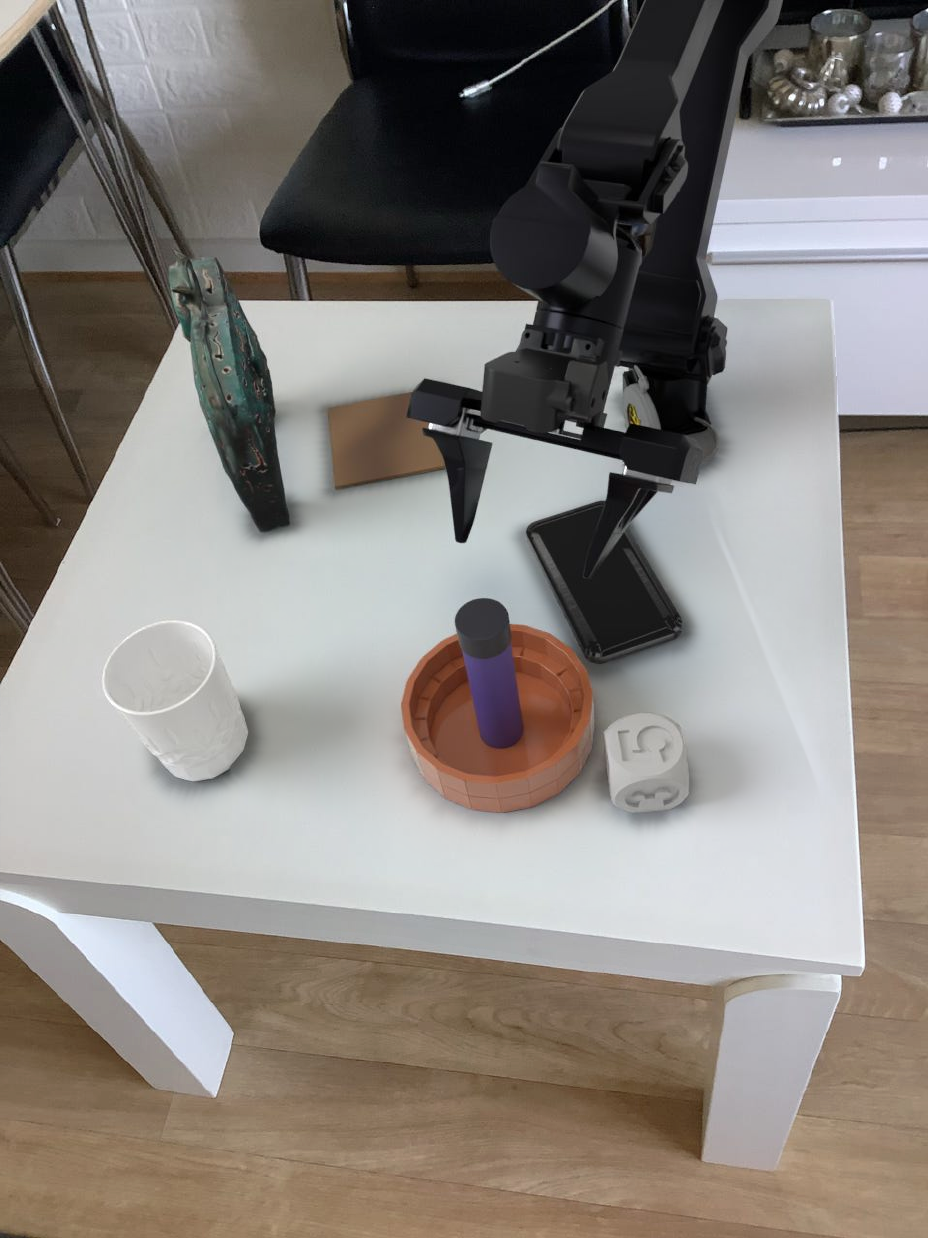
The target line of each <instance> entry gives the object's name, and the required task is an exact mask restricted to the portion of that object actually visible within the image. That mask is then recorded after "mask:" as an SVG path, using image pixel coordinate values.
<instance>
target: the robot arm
mask: <svg viewBox="0 0 928 1238" xmlns="http://www.w3.org/2000/svg"><path fill="white" fill-rule="evenodd" d="M783 1H784V0H643V3H642V5H641V7H640V10H639V12H638V14H637V16H636V19H635V21H634V23H633V26H632V28H631V30H630V32H629V35H628V38H627V40H626V42H625V44H624V46H623V48H622V51H621V54H620V56H619V58H618V59H617V63H616V64H615V66H614V68H613V70H612V71H611V72H610V73H608V74H606V75H605V76H603V77H602V78H600V79H599V80H597V81H595V82H594V83H592V84H591V85H589V86H587V87H586V88H584V89H583V91H582V92H581V93H580V95H579V97H578V99H577V101H576V102H575V104H574V105H573V107H572V109H571V111H570V113H569V115H567V118H566V119H565V121H564V123H563V125H562V126H561V127H560V128H559V129H558V130H557V131H556V133H555V135H554V136H553V137H552V140H551V141H550V143H549V145H548V146H547V148H546V150H545V152H544V154H543V155H542V157H541V158H540V161H539V162H538V164H537V165H536V167H535V169H534V170H533V172H532V174H531V176H530V177H529V180H528V181H527V183H526V184H525V186H524V187H522V188H520V189H518V190H517V191H516V192H515V193H513V194H512V195H511V196H510V197H509V198H508V199H507V200H506V201H505V202H504V203H503V204H502V206H501V208H500V209H499V211H498V213H497V215H496V216H495V217H494V218H493V220H492V223H491V227H490V233H489V249H490V255H491V259H492V260H493V263H494V265H495V267H496V269H497V271H498V272H499V273H500V274H501V276H502V277H503V278H504V279H506V280H507V281H508V282H509V283H510V284H512V285H514V286H515V287H517V288H519V289H520V290H522V291H524V292H525V293H527V294H528V295H530V296H532V297H534V298H535V299H537V304H536V309H535V314H534V317H533V318H534V319H533V322H532V324H530V323H525V326H524V330H523V331H522V333H521V336H520V339H519V344H518V346H517V348H516V349H515V351H508V352H506V353H503V354H501V355H499V356H498V357H496V358H494V359H492V360H490V361H487V362H486V363H484V367H483V379H482V391H481V390H479V389H476V388H475V389H474V388H472V387H467V386H462V385H457V384H453V383H449V382H445V381H439V380H435V379H430V378H426V377H424V378H423V379H422V380H421V381H420V382H418V384H417V385H416V386H415V387H414V389H413V390H412V391H411V392H412V393H411V397H410V402H409V406H408V411H407V416H406V417H407V418H411V419H415V420H419V421H424V422H428V423H429V425H428V428H422V431H423V435H424V436H427V437H431V438H432V439H433V440H434V441H435V443H436V445H437V447H438V449H439V451H440V453H441V454H442V457H443V460H444V463H445V472H446V476H447V481H448V488H449V489H448V490H449V497H450V506H451V515H452V523H453V533H454V540H455V542H456V543H458V544H466V543H467V542H468V539H469V537H470V533H471V531H472V528H473V526H474V523H475V519H476V515H477V510H478V506H479V503H480V498H481V494H482V490H483V485H484V481H485V477H486V472H487V469H488V466H489V465H488V464H489V460H490V456H491V453H492V452H491V451H492V448H493V442H491V441H487V440H483V439H481V434H483V433H484V432H486V431H487V430H489V431H495V432H499V433H503V434H508V435H511V436H517V437H520V438H524V439H529V440H534V441H538V442H542V443H547V444H550V445H554V446H559V447H564V448H569V449H572V450H576V451H581V452H584V453H585V452H586V453H589V454H593V455H597V456H598V455H599V456H602V457H605V458H606V457H607V458H611V459H615V460H619V461H622V466H623V470H622V473H617V472H612V471H610V472H609V473H608V480H607V481H608V482H607V489H606V498H605V500H604V501H605V504H604V507H603V510H602V513H601V516H600V518H599V521H598V524H597V527H596V530H595V533H594V536H593V539H592V542H591V545H590V548H589V551H588V554H587V558H586V563H585V568H584V573H583V577H584V578H587V579H590V578H592V577H593V576H594V575H595V573H596V572H597V571H598V569H599V568H600V566H601V565H602V563H603V562H604V560H605V559H606V557H607V556H608V555H609V553H610V552H611V550H612V549H613V547H614V546H615V544H616V543H617V541H618V540H619V539H620V537H621V536H622V534H623V533H624V531H625V530H626V529H627V527H629V525H630V524H632V523H633V522H634V520H635V518H636V517H638V515H639V514H640V513H641V512H642V511H643V510H644V508H645V507H646V506H647V505H648V504H649V503H650V501H652V499H654V497H655V496H656V495H657V494H658V493H665V494H673V492H674V489H675V485H673V484H672V481H676V482H680V483H686V484H691V485H697V481H698V477H699V474H700V470H701V467H702V466H701V463H702V457H703V449H702V448H701V446H700V444H699V442H698V440H696V439H694V438H691V437H688V436H686V435H689V434H695V433H700V432H703V431H705V430H707V428H708V427H707V426H704V425H703V424H702V423H700V422H698V421H695V417H698V418H700V419H702V420H705V421H706V422H708V423H709V424H710V425H711V426H712V422H711V419H710V417H709V414H708V413H707V411H706V410H707V399H708V398H707V397H708V385H709V383H710V382H711V379H712V377H713V376H716V375H718V374H721V373H724V371H725V368H726V362H727V361H726V360H727V346H728V345H727V344H728V340H727V335H728V326H727V325H726V324H725V323H724V322H722V321H721V320H720V319H719V318H718V317H715V316H716V315H715V314H716V310H717V304H718V293H717V289H716V287H715V286H716V285H715V283H714V281H713V277H712V274H711V272H710V271H711V270H710V268H709V266H708V263H707V255H708V250H709V249H708V248H709V245H710V240H711V234H712V231H713V226H714V220H715V216H716V211H717V206H718V202H719V197H720V191H721V187H722V183H723V178H724V173H725V168H726V164H727V158H728V154H729V149H730V145H731V140H732V135H733V131H734V130H733V129H734V126H735V123H736V122H735V121H736V116H737V112H738V107H739V102H740V97H741V92H742V88H743V84H744V79H745V74H746V69H747V64H748V61H749V58H750V57H751V55H752V54H753V53H754V52H755V50H756V49H757V48H758V47H759V45H761V43H762V42H763V41H764V40H765V38H766V37H767V36H768V35H769V33H770V32H771V31H772V30H773V28H774V27H775V26H776V24H777V23H778V22H779V21H778V20H779V18H780V14H781V10H782V6H783ZM618 221H624V223H623V222H618ZM625 222H631V223H638V224H645V225H652V224H653V227H652V232H651V237H650V242H649V247H648V250H647V252H646V253H645V254H644V255H643V250H642V248H641V246H640V244H639V242H638V241H637V238H636V235H635V227H634V225H633V224H630V223H625ZM634 365H636V366H637V367H638V368H639V369H640V371H641V372H642V374H643V375H644V376H646V377H647V381H648V383H649V389H647V393H648V394H649V396H650V398H651V400H652V402H653V404H654V406H655V409H656V411H657V414H658V418H659V422H660V426H661V430H660V429H655V428H651V427H646V426H642V425H637V424H633V423H630V425H629V427H628V429H627V428H626V431H619V430H615V429H611V428H607V427H605V425H606V421H607V417H608V413H606V412H605V408H606V404H607V400H608V396H609V391H610V387H611V385H612V379H613V376H614V372H615V367H616V368H620V367H622V368H627V369H628V370H625V371H623V373H622V375H621V376H622V393H623V392H624V390H625V388H626V387H628V386H629V385H631V384H635V383H638V380H639V377H638V375H637V373H636V371H635V369H634ZM640 376H641V375H640ZM638 384H639V383H638ZM566 422H570V423H571V422H572V423H575V427H578V428H581V429H582V432H581V433H578V432H577V433H576V432H572V431H567V430H564V428H565V424H566ZM640 422H641V421H640Z"/></svg>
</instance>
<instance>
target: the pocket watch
mask: <svg viewBox="0 0 928 1238" xmlns="http://www.w3.org/2000/svg"><path fill="white" fill-rule="evenodd" d="M634 369H635V371H636V373H637V375H638V377H639V380H638V383H639V384H638V383H635V384H631V385H629V386H628V387H626V388H625V390H624V392H623V391H622V397H621V398H622V399H621V400H622V401H621V403H622V404H621V405H622V415H623V420H624V424H625V428H626V430H627V429H628V427H629V425H630V423H633V424H637V425H642V426H646V427H651V428H655V429H660V430H661V426H660V422H659V418H658V414H657V411H656V409H655V406H654V404H653V402H652V400H651V398H650V396H649V394H648V393H647V389H649V383H648V381H647V377H646V376H644V375H643V374H642V372H641V371H640V369H639V368H638V367H637V366H636V365H634ZM640 375H641V376H640ZM640 421H641V422H640ZM695 421H698V422H700V423H702V424H703V425H704V426H707V427H708V428H707V430H705V431H703V432H700V433H695V434H689V435H686V436H688V437H691V438H694V439H696V440H698V442H699V444H700V446H701V448H702V449H703V457H702V463H701V467H703V466H705V465H706V464H707V463H709V462H710V461H711V460H712V459H713V458H714V456H716V454H717V452H718V448H719V441H720V440H719V435H718V432H717V430H716V429H715V427H714V426H712V424H711V425H710V424H709V423H708V422H706V421H705V420H702V419H700V418H698V417H695Z"/></svg>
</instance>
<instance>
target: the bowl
mask: <svg viewBox="0 0 928 1238" xmlns="http://www.w3.org/2000/svg"><path fill="white" fill-rule="evenodd" d="M510 628H511V646H512V653H513V659H514V666H515V673H516V679H517V686H518V693H519V700H520V706H521V713H522V720H523V727H524V731H523V735H522V737H521V738H520V740H519V741H518V742H517V743H516V744H514V745H513V746H511V747H508V748H502V749H499V748H493V747H491V746H489V745H487V744H486V743H485V742H484V741H483V740H482V738H481V736H480V733H479V728H478V723H477V718H476V714H475V709H474V704H473V700H472V695H471V690H470V685H469V681H468V676H467V671H466V667H465V662H464V657H463V652H462V649H461V647H460V645H459V641H458V636H457V633H455V634H453V635H450V636H449V637H446V638H444V639H442V640H440V642H439V643H437V644H436V645H435V646H434V647H432V648H431V649H430V650H429V651H428V652H426V654H424V655H423V656H422V657H421V658H420V659H419V661H418V662H417V664H416V665H415V667H414V668H413V670H412V672H411V673H410V675H409V676H408V678H407V680H406V682H405V687H404V690H403V694H402V698H401V703H400V708H401V709H400V710H401V716H402V725H403V730H404V734H405V738H406V741H407V744H408V746H409V747H408V748H409V750H410V753H411V755H412V759H413V761H414V763H415V765H416V766H417V769H418V770H419V772H420V774H421V776H422V778H423V780H424V781H425V782H426V783H427V784H428V785H429V786H430V787H431V788H433V789H434V791H436V792H437V793H438V794H439V795H440V796H442V797H443V798H444V799H445V800H448V801H450V802H453V803H454V804H458V805H460V806H462V807H465V808H467V809H470V810H473V811H481V812H491V813H508V812H514V811H519V810H524V809H525V810H526V809H530V808H533V807H535V806H537V805H540V804H541V803H543V802H546V801H547V800H549V799H551V798H553V797H555V796H557V795H559V794H560V793H562V791H563V790H564V789H565V788H566V787H568V786H569V784H571V782H572V781H573V780H574V779H576V778H577V777H578V776H579V775H580V773H581V772H582V770H583V768H584V766H585V764H586V762H587V760H588V758H589V756H590V754H591V752H592V749H593V743H594V733H595V725H596V724H595V706H594V703H595V701H594V692H593V687H592V684H591V680H590V677H589V672H588V669H587V668H586V666H585V665H584V664H583V663H582V661H581V660H580V658H579V656H578V655H577V654H576V652H575V651H574V650H573V649H572V648H571V647H570V646H569V645H567V644H565V643H564V642H562V641H561V640H560V639H559V638H557V637H556V636H554V635H553V634H551V633H550V632H547V631H544V630H541V629H538V628H535V627H531V626H530V625H526V624H517V623H510Z"/></svg>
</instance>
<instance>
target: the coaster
mask: <svg viewBox="0 0 928 1238" xmlns="http://www.w3.org/2000/svg"><path fill="white" fill-rule="evenodd" d="M412 392H413V391H409V392H402V393H397V394H392V395H387V396H382V397H378V398H372V399H367V400H361V401H356V402H351V403H346V404H345V403H344V404H341V405H340V404H339V405H335V406H330V407H327V415H328V427H329V438H330V448H331V449H330V451H331V457H332V458H331V461H332V472H333V483H334V489H335V490H339V489H346V488H349V487H355V486H361V485H365V484H366V485H367V484H372V483H376V482H382V481H386V480H393V479H398V478H403V477H408V476H413V475H418V474H425V473H429V472H435V471H440V470H446V468H445V463H444V460H443V457H442V454H441V453H440V451H439V449H438V447H437V445H436V443H435V441H434V440H433V439H432V438H431V437H427V436H424V435H423V431H422V428H428V425H429V423H428V422H424V421H419V420H415V419H411V418H407V417H406V416H407V411H408V406H409V402H410V397H411V393H412Z"/></svg>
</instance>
